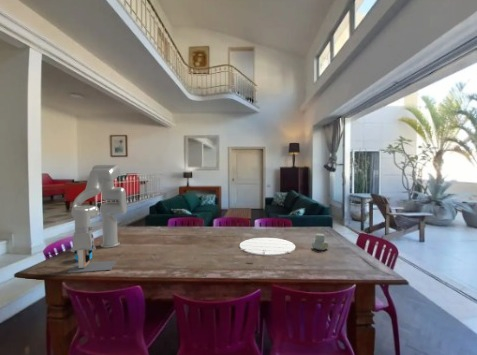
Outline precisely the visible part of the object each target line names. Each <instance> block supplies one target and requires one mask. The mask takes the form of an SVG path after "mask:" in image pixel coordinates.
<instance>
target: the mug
mask: <svg viewBox="0 0 477 355" xmlns="http://www.w3.org/2000/svg"><path fill="white" fill-rule="evenodd" d="M90 250H91V249H90ZM74 254H75V253H74ZM74 258H75V260H76V261H77V262H78V256H77V255H76V254H75V255H74ZM91 258H93V251H92V252H91V253H90V260H91Z"/></svg>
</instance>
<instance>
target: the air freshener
mask: <svg viewBox="0 0 477 355" xmlns="http://www.w3.org/2000/svg"><path fill="white" fill-rule="evenodd" d="M311 247H312V248H314V249H315V250H318V251H324V250H326V249H328V248H329V243H328V241H326V240H325V234H324V233H316V234H315V239H314V240H313V241H312V242H311Z"/></svg>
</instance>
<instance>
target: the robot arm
mask: <svg viewBox="0 0 477 355" xmlns="http://www.w3.org/2000/svg"><path fill="white" fill-rule="evenodd" d="M120 174H121V168H120V166H119V165H117V164H96V165H93V166H92V169H91V170H90V171H89V174H88V178H87V181H86V186H85V188H84V190H82V192H80V193H79V194H78V195H77V196H76V197H75V198H74V201H73V203H72V207H71V212H70V213H71V217H72V218H73V219H74V233H73V236H72V247H71V249H70V252H71V253H74V254H76V255H77V256H78V250H80V249H85V250H86V262H88V261H89V262H90V260H91V259H90V253H91V252H92V253H93V252H94V251H95V250H97V248H96V245H95V239H94V234H93V230H94V227H92V226H91V219H92V220H93V219H95V218H97V217H98V216H99V215H101V219H102V220H101V222H102V243H100V247H101V248H106V249H108V248H114V247H118V246H120V245H121V243H120V241H118V219H117V218H116V217H115V216H123V215H125V214H126V213H127V211H128V204H127V203H128V202H127V194H126V193H127V192H126V189H125V188H124V187H122V186H118V187H117V186H115V183H114V181H115V180H116V179H117V178H118V177H119V176H120ZM99 194H100V195H101V198H102V200H104V201H106V202H103V203H101V205H100V208H99V207H98V206H96V205H82V204H83V203H84V202H85V201H87V200H89V199H91V198H94V197H96V196H98V195H99ZM100 213H101V214H100ZM90 249H91V250H90Z"/></svg>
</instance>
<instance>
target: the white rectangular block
mask: <svg viewBox="0 0 477 355" xmlns="http://www.w3.org/2000/svg"><path fill="white" fill-rule="evenodd" d="M89 262H90V260H89V261H88V262H86V250H85V249H80V250H78V261H77V263H79V268H85V267H86V266H87V265H88V264H89Z"/></svg>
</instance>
